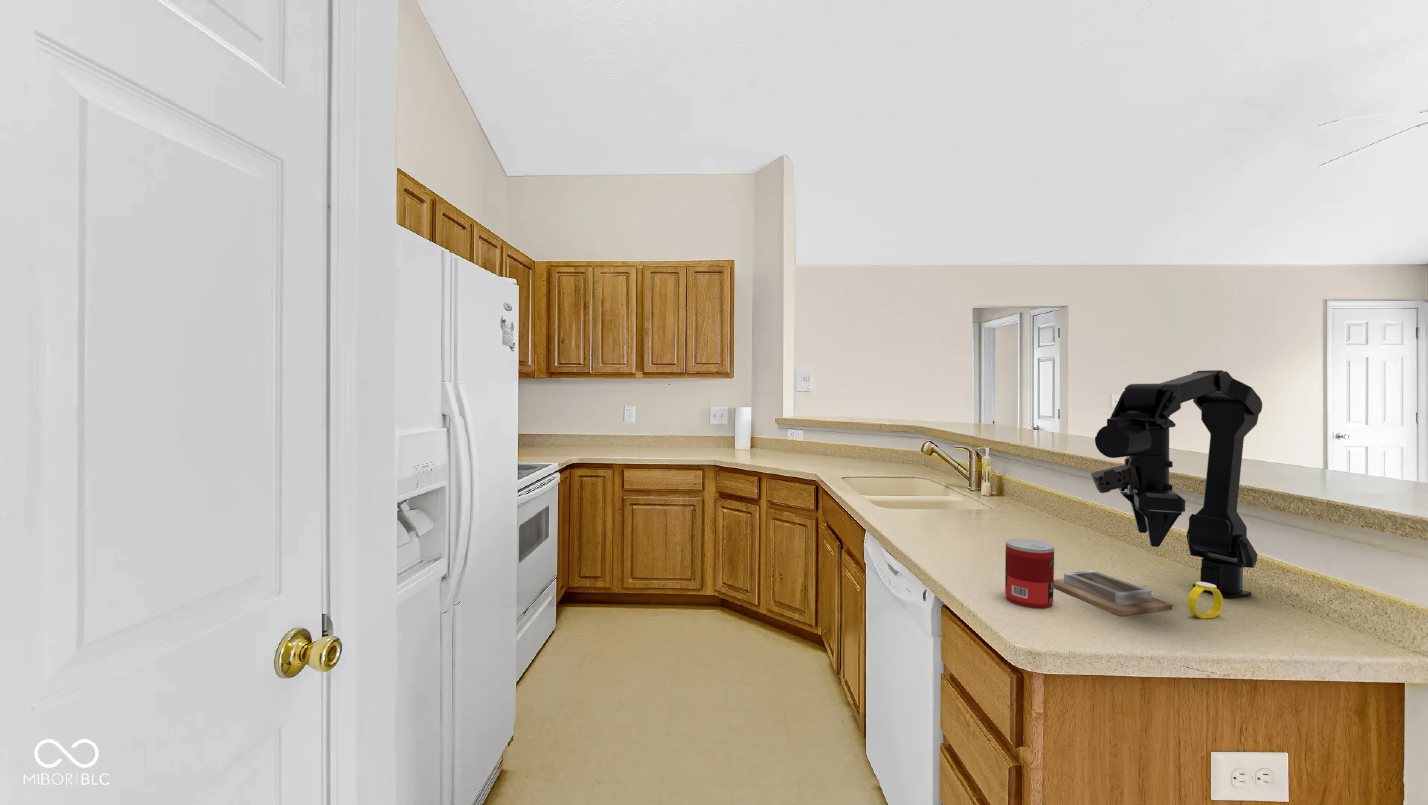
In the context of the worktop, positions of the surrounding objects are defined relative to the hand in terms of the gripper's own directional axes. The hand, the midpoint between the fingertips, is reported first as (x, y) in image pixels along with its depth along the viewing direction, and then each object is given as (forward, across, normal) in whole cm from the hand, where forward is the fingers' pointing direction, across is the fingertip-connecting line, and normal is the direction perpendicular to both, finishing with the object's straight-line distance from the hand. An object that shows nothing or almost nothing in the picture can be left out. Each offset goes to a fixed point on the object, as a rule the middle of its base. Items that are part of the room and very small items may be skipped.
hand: (1148, 539), depth 101 cm
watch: (+13, -1, +8) cm, 16 cm away
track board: (+13, -4, -6) cm, 15 cm away
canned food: (+13, +5, -19) cm, 23 cm away
